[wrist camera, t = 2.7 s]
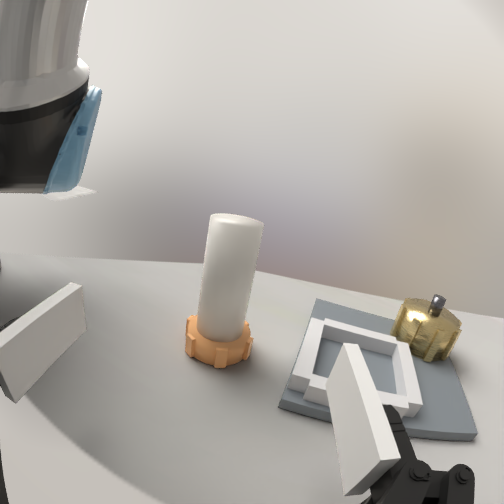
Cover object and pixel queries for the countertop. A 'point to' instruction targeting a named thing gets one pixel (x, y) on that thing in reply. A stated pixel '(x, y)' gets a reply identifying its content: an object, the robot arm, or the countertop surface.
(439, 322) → the sun gear
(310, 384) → the carrier plate
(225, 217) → the white cylinder orange base
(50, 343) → the robot arm
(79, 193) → the countertop surface
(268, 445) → the countertop surface
